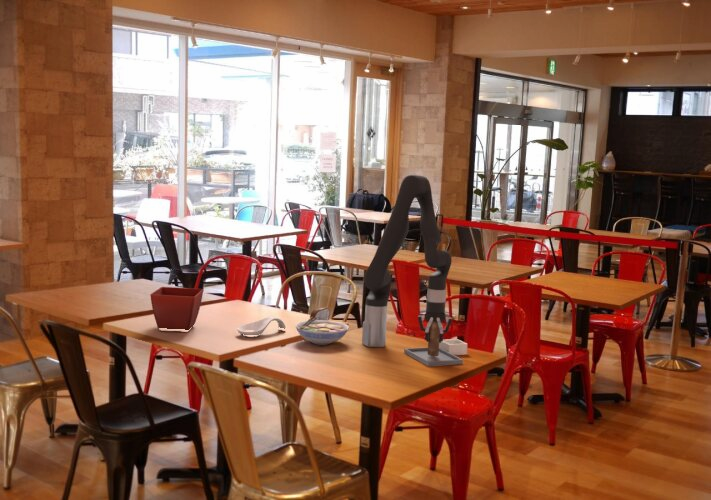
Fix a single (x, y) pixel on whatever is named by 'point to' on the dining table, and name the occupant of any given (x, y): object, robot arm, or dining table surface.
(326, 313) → the soup spoon
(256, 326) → the spoon rest
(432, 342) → the peg
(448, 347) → the square frame
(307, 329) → the ramen bowl
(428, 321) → the robot arm
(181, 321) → the plant pot
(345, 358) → the dining table surface
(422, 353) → the tray
